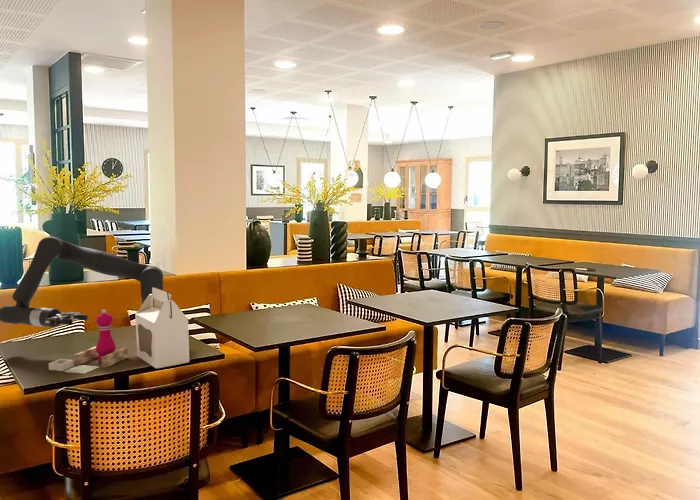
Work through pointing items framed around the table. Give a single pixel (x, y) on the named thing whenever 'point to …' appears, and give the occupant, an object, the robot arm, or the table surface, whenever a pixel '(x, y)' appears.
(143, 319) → the gable box
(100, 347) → the pepper mill
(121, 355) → the oak channel
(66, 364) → the box
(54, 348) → the table surface
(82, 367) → the sage pad
